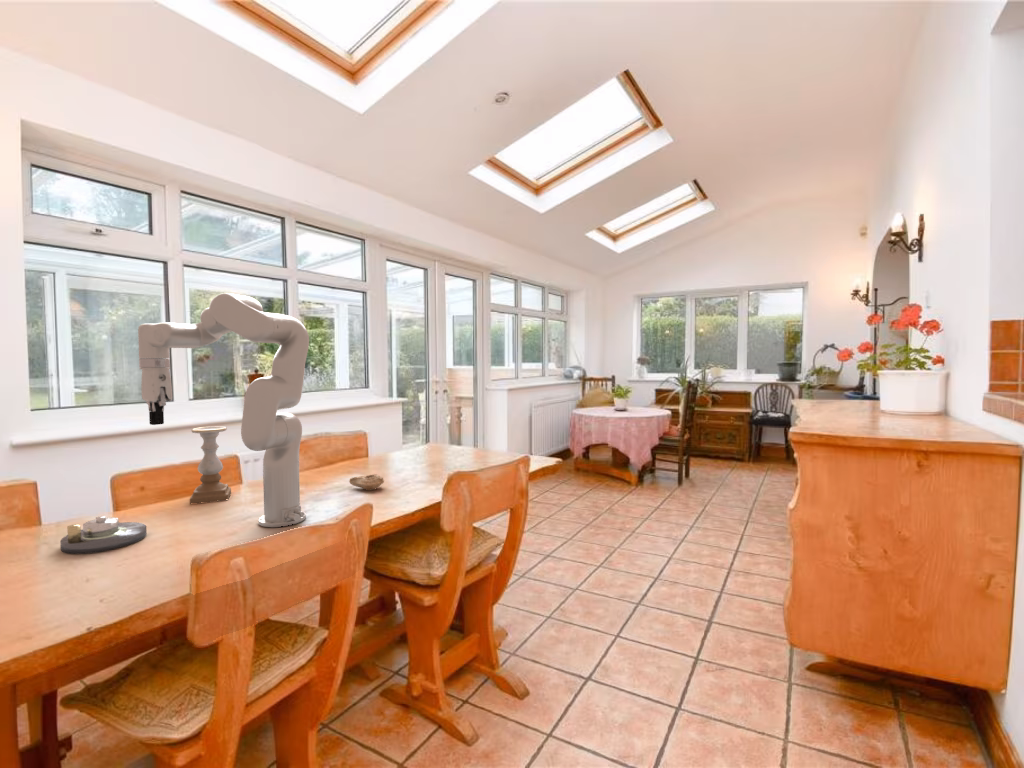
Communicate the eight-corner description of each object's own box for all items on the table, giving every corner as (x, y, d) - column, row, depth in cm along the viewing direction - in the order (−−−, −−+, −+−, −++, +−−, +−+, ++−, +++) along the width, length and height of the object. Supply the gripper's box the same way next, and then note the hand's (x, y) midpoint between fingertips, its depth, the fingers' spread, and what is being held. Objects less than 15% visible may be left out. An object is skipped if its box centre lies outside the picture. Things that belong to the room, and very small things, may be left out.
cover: (125, 528, 130) (125, 513, 129) (102, 538, 123) (101, 522, 122) (100, 528, 130) (100, 512, 130) (75, 537, 123) (75, 521, 123)
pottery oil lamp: (354, 484, 184) (363, 466, 186) (380, 497, 181) (389, 479, 182) (342, 481, 176) (352, 463, 177) (370, 495, 173) (379, 476, 174)
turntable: (162, 530, 135) (161, 508, 134) (107, 554, 118) (106, 530, 117) (103, 528, 136) (102, 507, 135) (40, 552, 119) (39, 528, 118)
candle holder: (195, 495, 169) (192, 427, 168) (231, 492, 174) (229, 425, 173) (189, 504, 159) (187, 431, 158) (228, 500, 164) (226, 429, 163)
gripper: (179, 364, 149) (181, 424, 150) (158, 364, 157) (160, 421, 158) (150, 364, 143) (153, 427, 144) (130, 364, 151) (132, 423, 152)
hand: (156, 424), depth 151 cm, fingers closed
